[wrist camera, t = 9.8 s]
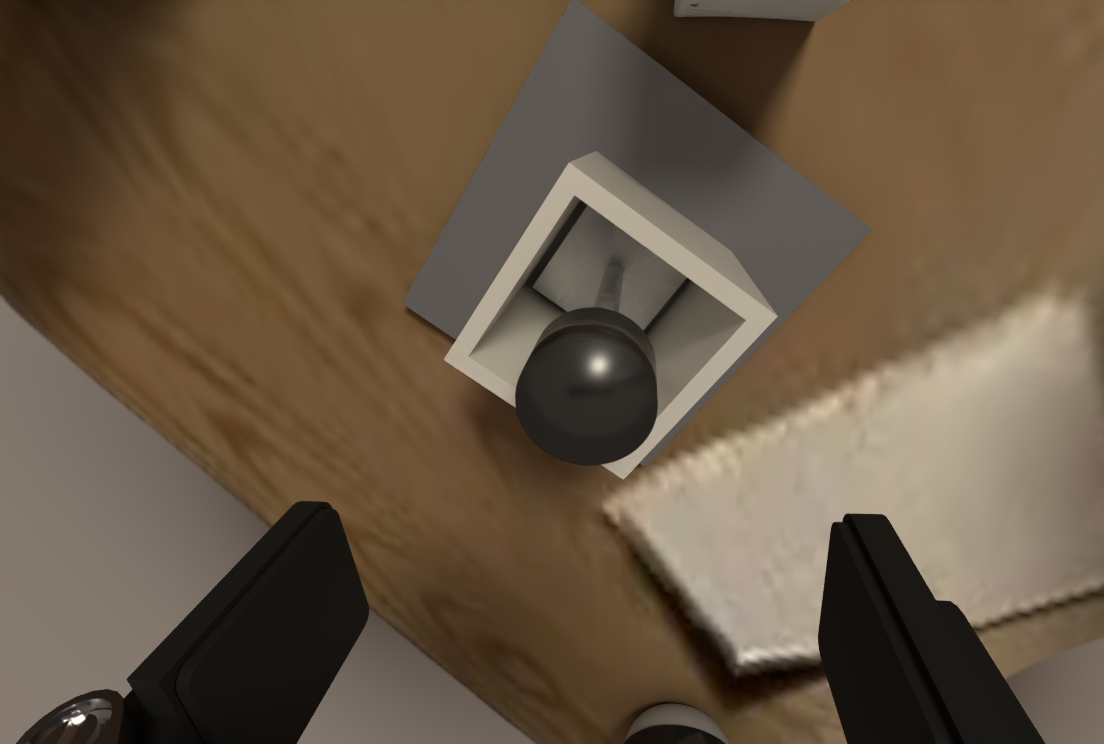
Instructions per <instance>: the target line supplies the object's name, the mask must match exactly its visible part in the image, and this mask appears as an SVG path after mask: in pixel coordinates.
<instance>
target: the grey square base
mask: <svg viewBox="0 0 1104 744" xmlns="http://www.w3.org/2000/svg"><path fill="white" fill-rule="evenodd" d="M587 205H589V206H590V207H591V208H593V209H594V210H596V211H597V212H598V213H600V214H601V215H602V216H604V217H605V218H607V219H608V220H609V221H611V222H612V223H613V224H615V225H616V226H618V227H619V228H620V229H622V230H623V231H624V232H626V233H627V234H628V235H630V236H631V237H633V238H634V239H635V240H637V241H638V242H639V243H641V244H642V245H644V246H645V247H646V248H648V249H649V250H650V251H652V252H653V253H655V254H656V255H657V256H659V257H660V258H661V259H663V260H664V261H665V262H667V263H668V264H670V265H671V266H672V267H674V268H675V269H676V270H678V271H679V272H681V273H682V274H683V275H685V276H686V277H687V278H686V279H685V281H684V282H683V283H682V284H681V285H680V287H679V288H678V289H677V290H676V292H675V293H674V294H673V295H672V296H671V298H670V299H669V300H668V301H667V302H666V304H665V305H664V306H663V307H662V309H661V310H660V311H659V312H658V313H657V315H656V316H655V317H654V318H653V320H652V321H651V322H650V323H649V324H648V326H647V327H646V328H645V329H644V333H645V334H646V335H647V337H648V338H649V340H650V342H651V344H652V347H653V350H654V353H655V358H656V375H657V396H658V411H657V417H656V421H655V424H654V427H653V429H652V431H651V433H650V434H649V436H648V438H647V439H646V440H645V441H644V443H643V444H642V445H641V446H640V447H639V448H638V449H637V450H635V451H634V452H632V453H631V454H630V455H628V456H626V457H624V458H622V459H620V460H617V461H615V462H611V463H607V464H602V466H604V467H605V468H607V469H608V470H610V471H611V472H613V473H614V474H616V475H617V476H619V477H620V478H622V479H623V480H624V478H625V477H626V476H627V475H628V474H629V473H630V472H631V471H632V470H633V469H634V468H635V467H636V466H637V465H638V464H641V465H642V466H644V467H645V466H646V465H647V464H648V463H649V462H650V461H651V460H652V459H653V458H654V457H655V456H656V454H657V453H658V452H659V451H660V450H661V449H662V448H663V447H664V446H665V445H666V444H667V443H668V442H669V441H670V440H671V439H672V438H673V437H674V436H675V435H676V434H677V433H678V431H679V430H680V429H681V428H682V427H683V426H684V425H685V424H686V423H687V422H688V421H689V420H690V419H691V418H692V417H693V416H694V415H695V414H696V413H697V412H698V411H699V410H700V408H701V407H702V406H703V405H704V404H705V403H706V402H707V401H708V400H709V399H710V398H711V397H712V396H713V395H714V394H715V393H716V392H717V391H718V390H719V389H720V388H721V387H722V385H723V384H724V383H725V382H726V381H727V380H728V379H729V378H730V377H731V376H732V375H733V374H734V373H735V372H736V371H737V370H738V369H739V368H740V367H741V366H742V365H743V364H744V362H745V361H746V360H747V359H748V358H749V357H750V356H751V355H752V354H753V353H754V352H755V351H756V350H757V349H758V348H759V347H760V346H761V345H762V344H763V343H764V342H765V341H766V339H767V338H768V337H769V336H770V335H771V334H772V333H773V332H774V331H775V330H776V329H777V328H778V327H779V326H780V325H781V324H782V323H783V322H784V321H785V320H786V319H787V318H788V317H789V315H790V314H791V313H792V312H793V311H794V310H795V309H796V308H797V307H798V306H799V305H800V304H801V303H802V302H803V301H804V300H805V299H806V298H807V297H808V296H809V295H810V294H811V292H812V291H813V290H814V289H815V288H816V287H817V286H818V285H819V284H820V283H821V282H822V281H823V280H824V279H825V278H826V277H827V276H828V275H829V274H830V273H831V272H832V271H833V269H834V268H835V267H836V266H837V265H838V264H839V263H840V262H841V261H842V260H843V259H844V258H845V257H846V256H847V255H848V254H849V253H850V252H851V251H852V250H853V249H854V248H855V246H856V245H857V244H858V243H859V242H860V241H861V240H862V239H863V238H864V237H865V236H866V235H867V234H868V233H869V232H870V231H871V230H872V229H871V228H869V227H868V226H867V225H866V224H864V223H863V222H862V221H860V220H859V219H858V218H857V217H855V216H854V215H853V214H851V213H850V212H849V211H848V210H846V209H845V208H844V207H842V206H841V205H840V204H839V203H837V202H836V201H835V200H833V199H832V198H831V197H830V196H828V195H827V194H826V193H824V192H823V191H822V190H821V189H819V188H818V187H817V186H815V185H814V184H813V183H812V182H810V181H809V180H808V179H806V178H805V177H804V176H803V175H801V174H800V173H799V172H798V171H796V170H795V169H794V168H792V167H791V166H790V165H789V164H787V163H786V162H785V161H783V160H782V159H781V158H780V157H778V156H777V155H776V154H774V153H773V152H772V151H771V150H769V149H768V148H767V147H765V146H764V145H763V144H762V143H760V142H759V141H758V140H756V139H755V138H754V137H753V136H751V135H750V134H749V133H747V132H746V131H745V130H744V129H742V128H741V127H740V126H738V125H737V124H736V123H735V122H733V121H732V120H731V119H729V118H728V117H727V116H726V115H724V114H723V113H722V112H720V111H719V110H718V109H717V108H715V107H714V106H713V105H711V104H710V103H709V102H708V101H706V100H705V99H704V98H702V97H701V96H700V95H699V94H697V93H696V92H695V91H694V90H692V89H691V88H690V87H688V86H687V85H686V84H685V83H683V82H682V81H681V80H679V79H678V78H677V77H676V76H674V75H673V74H672V73H670V72H669V71H668V70H667V69H665V68H664V67H663V66H661V65H660V64H659V63H658V62H656V61H655V60H654V59H652V58H651V57H650V56H649V55H647V54H646V53H645V52H643V51H642V50H641V49H640V48H638V47H637V46H636V45H634V44H633V43H632V42H631V41H629V40H628V39H627V38H625V37H624V36H623V35H622V34H620V33H619V32H618V31H616V30H615V29H614V28H613V27H611V26H610V25H609V24H607V23H606V22H605V21H604V20H602V19H601V18H600V17H598V16H597V15H596V14H595V13H593V12H592V11H591V10H589V9H588V8H587V7H586V6H584V5H583V4H582V3H581V2H579V1H578V0H571V1H570V2H569V4H568V6H567V8H566V10H565V11H564V13H563V15H562V17H561V19H560V20H559V22H558V24H557V26H556V28H555V29H554V31H553V33H552V35H551V37H550V38H549V40H548V42H547V44H546V46H545V47H544V49H543V51H542V53H541V55H540V56H539V58H538V60H537V62H536V64H535V65H534V67H533V69H532V71H531V73H530V74H529V76H528V78H527V80H526V82H525V83H524V85H523V87H522V89H521V91H520V92H519V94H518V96H517V98H516V99H515V101H514V103H513V105H512V107H511V108H510V110H509V112H508V114H507V116H506V117H505V119H504V121H503V123H502V125H501V126H500V128H499V130H498V132H497V134H496V135H495V137H494V139H493V141H492V143H491V144H490V146H489V148H488V150H487V152H486V153H485V155H484V157H483V159H482V161H481V162H480V164H479V166H478V168H477V170H476V171H475V173H474V175H473V177H472V179H471V180H470V182H469V184H468V186H467V188H466V189H465V191H464V193H463V195H462V196H461V198H460V200H459V202H458V204H457V205H456V207H455V209H454V211H453V213H452V214H451V216H450V218H449V220H448V222H447V223H446V225H445V227H444V229H443V231H442V232H441V234H440V236H439V238H438V240H437V241H436V243H435V245H434V247H433V249H432V250H431V252H430V254H429V256H428V258H427V259H426V261H425V263H424V265H423V267H422V268H421V270H420V272H419V274H418V276H417V277H416V279H415V281H414V283H413V285H412V286H411V288H410V290H409V292H408V293H407V295H406V297H405V299H404V301H403V302H402V304H403V305H405V306H406V307H408V308H409V309H411V310H412V311H414V312H415V313H417V314H418V315H420V316H421V317H423V318H424V319H426V320H427V321H429V322H430V323H432V324H433V325H435V326H436V327H438V328H439V329H441V330H442V331H444V332H445V333H447V334H448V335H449V336H451V337H452V338H454V339H455V340H456V341H455V343H454V344H453V346H452V347H451V349H450V351H449V352H448V354H447V355H446V357H445V358H444V360H445V361H446V362H448V363H449V364H451V365H452V366H454V367H455V368H457V369H458V370H460V371H461V372H463V373H464V374H466V375H467V376H469V377H470V378H472V379H473V380H475V381H476V382H478V383H479V384H481V385H482V386H484V387H485V388H487V389H488V390H490V391H491V392H493V393H494V394H496V395H497V396H499V397H500V398H502V399H503V400H505V401H506V402H508V403H509V404H511V405H512V406H514V407H515V408H516V405H515V392H516V386H517V382H518V379H519V376H520V374H521V372H522V370H523V368H524V366H525V364H526V362H527V360H528V358H529V356H530V354H531V352H532V350H533V348H534V346H535V344H536V342H537V341H538V339H539V337H540V335H541V334H542V332H543V331H544V329H545V328H546V327H547V326H548V325H549V324H550V323H551V322H552V321H553V320H555V319H556V318H558V317H559V316H561V315H563V314H565V313H567V311H566V310H564V309H563V308H561V307H560V306H558V305H557V304H556V303H554V302H553V301H551V300H550V299H548V298H547V297H546V296H544V295H543V294H541V293H540V292H538V291H537V290H536V289H534V288H533V285H534V284H535V282H536V281H537V279H538V278H539V276H540V275H541V273H542V272H543V271H544V269H545V268H546V266H547V265H548V263H549V262H550V260H551V259H552V257H553V256H554V254H555V253H556V251H557V250H558V248H559V247H560V245H561V244H562V242H563V241H564V239H565V238H566V236H567V235H568V234H569V232H570V231H571V229H572V228H573V226H574V225H575V223H576V222H577V220H578V219H579V217H580V216H581V214H582V213H583V211H584V210H585V208H586V207H587Z"/></svg>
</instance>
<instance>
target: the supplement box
mask: <svg viewBox="0 0 1104 744" xmlns="http://www.w3.org/2000/svg"><path fill="white" fill-rule="evenodd" d="M849 1H850V0H675V3H674V16H675V17H703V16H719V17H751V18H773V19H789V20H803V21H817V20H819V19H821V18H822V17H824V16H826V15H827V14H829V13H831V12H832V11H834V10H836V9H837V8H839V7H841V6H842V5H844V4H846V3H847V2H849Z"/></svg>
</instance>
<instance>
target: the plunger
mask: <svg viewBox="0 0 1104 744" xmlns="http://www.w3.org/2000/svg"><path fill="white" fill-rule="evenodd" d="M686 278H687V277H686V276H685V275H683V274H682V273H681V272H679V271H678V270H676V269H675V268H674V267H672V266H671V265H670V264H668V263H667V262H665V261H664V260H663V259H661V258H660V257H659V256H657V255H656V254H655V253H653V252H652V251H650V250H649V249H648V248H646V247H645V246H644V245H642V244H641V243H639V242H638V241H637V240H635V239H634V238H633V237H631V236H630V235H628V234H627V233H626V232H624V231H623V230H622V229H620V228H619V227H618V226H616V225H615V224H613V223H612V222H611V221H609V220H608V219H607V218H605V217H604V216H602V215H601V214H600V213H598V212H597V211H596V210H594V209H593V208H591V207H590V206H589V205H587V207H586V208H585V210H584V211H583V213H582V214H581V216H580V217H579V219H578V220H577V222H576V223H575V225H574V226H573V228H572V229H571V231H570V232H569V234H568V235H567V236H566V238H565V239H564V241H563V242H562V244H561V245H560V247H559V248H558V250H557V251H556V253H555V254H554V256H553V257H552V259H551V260H550V262H549V263H548V265H547V266H546V268H545V269H544V271H543V272H542V273H541V275H540V276H539V278H538V279H537V281H536V282H535V284H534V285H533V288H534V289H536V290H537V291H538V292H540V293H541V294H543V295H544V296H546V297H547V298H548V299H550V300H551V301H553V302H554V303H556V304H557V305H558V306H560V307H561V308H563V309H564V310H566V311H567V313H565V314H563V315H561V316H559V317H558V318H556V319H555V320H553V321H552V322H551V323H550V324H549V325H548V326H547V327H546V328H545V329H544V331H543V332H542V334H541V335H540V337H539V339H538V341H537V342H536V344H535V346H534V348H533V350H532V352H531V354H530V356H529V358H528V360H527V362H526V364H525V366H524V368H523V370H522V372H521V374H520V376H519V379H518V382H517V386H516V392H515V405H516V411H517V414H518V418H519V420H520V423H521V425H522V427H523V428H524V430H525V432H526V433H527V435H528V436H529V437H530V438H531V439H532V441H533V442H534V443H535V444H536V445H538V446H539V447H540V448H541V449H542V450H544V451H545V452H547V453H548V454H550V455H552V456H553V457H556V458H558V459H560V460H563V461H566V462H569V463H573V464H578V465H602V464H607V463H611V462H615V461H617V460H620V459H622V458H624V457H626V456H628V455H630V454H631V453H632V452H634V451H635V450H637V449H638V448H639V447H640V446H641V445H642V444H643V443H644V441H645V440H646V439H647V438H648V436H649V434H650V433H651V431H652V429H653V427H654V424H655V421H656V417H657V411H658V396H657V375H656V358H655V353H654V350H653V347H652V344H651V342H650V340H649V338H648V337H647V335H646V334H645V333H644V329H645V328H646V327H647V326H648V324H649V323H650V322H651V321H652V320H653V318H654V317H655V316H656V315H657V313H658V312H659V311H660V310H661V309H662V307H663V306H664V305H665V304H666V302H667V301H668V300H669V299H670V298H671V296H672V295H673V294H674V293H675V292H676V290H677V289H678V288H679V287H680V285H681V284H682V283H683V282H684V281H685V279H686Z"/></svg>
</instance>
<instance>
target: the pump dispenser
mask: <svg viewBox="0 0 1104 744" xmlns="http://www.w3.org/2000/svg"><path fill="white" fill-rule="evenodd" d="M623 744H729V742H728V740H727V738H726V736H725V735H724V733H723V732H722V730H721V729H720V727H719V726H718V725H717V724H716V723H715V722H714V721H713V720H712V719H711V718H710V717H709V716H707V715H706V714H704V713H703V712H701V711H699V710H698V709H695V708H693V707H690V706H687V705H683V704H673V703H670V704H661V705H657V706H654V707H652V708H650V709H648V710H646V711H645V712H643V713H642V714H641V715H640V716H639V717H638V718H637V719H636V720H635V721H634V723H633V724H632V726H631V728H630V730H629V732H628V734H627V737H626V740H625V742H624V743H623Z"/></svg>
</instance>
